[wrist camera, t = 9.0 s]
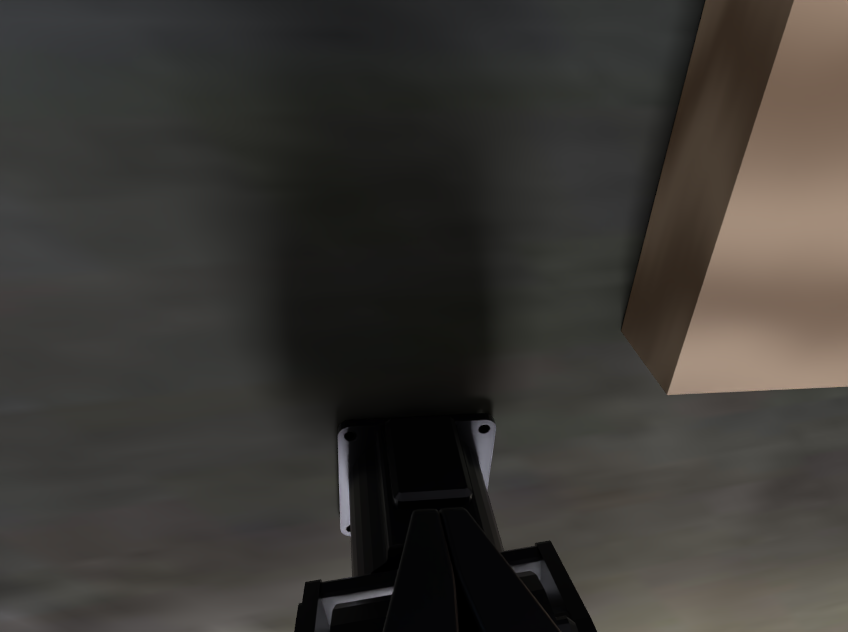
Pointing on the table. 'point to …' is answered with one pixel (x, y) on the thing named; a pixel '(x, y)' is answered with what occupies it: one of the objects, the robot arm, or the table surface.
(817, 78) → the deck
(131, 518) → the table surface
